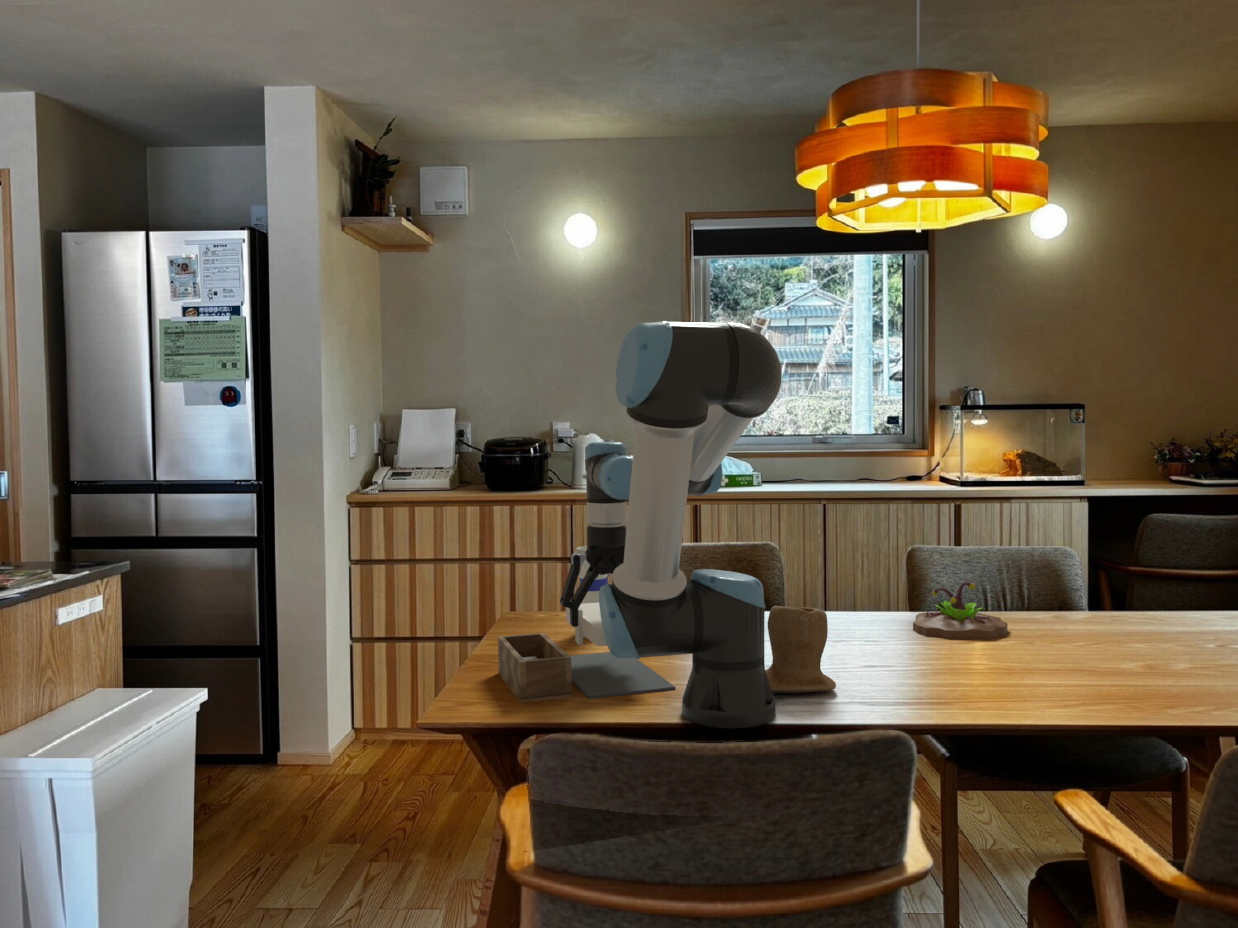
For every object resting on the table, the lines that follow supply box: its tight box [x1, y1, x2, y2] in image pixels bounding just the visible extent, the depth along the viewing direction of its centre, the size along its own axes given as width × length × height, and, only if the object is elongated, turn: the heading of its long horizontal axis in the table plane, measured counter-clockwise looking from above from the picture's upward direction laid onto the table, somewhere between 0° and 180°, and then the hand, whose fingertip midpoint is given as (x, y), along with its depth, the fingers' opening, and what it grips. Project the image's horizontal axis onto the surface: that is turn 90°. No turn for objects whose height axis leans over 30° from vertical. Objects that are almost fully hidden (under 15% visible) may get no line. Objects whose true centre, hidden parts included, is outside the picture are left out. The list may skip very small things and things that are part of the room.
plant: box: [912, 581, 1008, 641], centre depth 212 cm, size 20×20×11 cm
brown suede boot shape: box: [765, 605, 837, 694], centre depth 168 cm, size 15×12×15 cm
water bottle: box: [574, 545, 610, 638], centre depth 213 cm, size 8×9×25 cm
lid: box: [565, 603, 608, 648], centre depth 180 cm, size 22×11×3 cm, turn 18°
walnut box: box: [497, 632, 573, 704], centre depth 173 cm, size 20×9×7 cm, turn 18°
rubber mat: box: [569, 651, 676, 700], centre depth 180 cm, size 28×16×1 cm, turn 18°
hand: (608, 640), depth 180 cm, fingers closed on lid, 11 cm apart
